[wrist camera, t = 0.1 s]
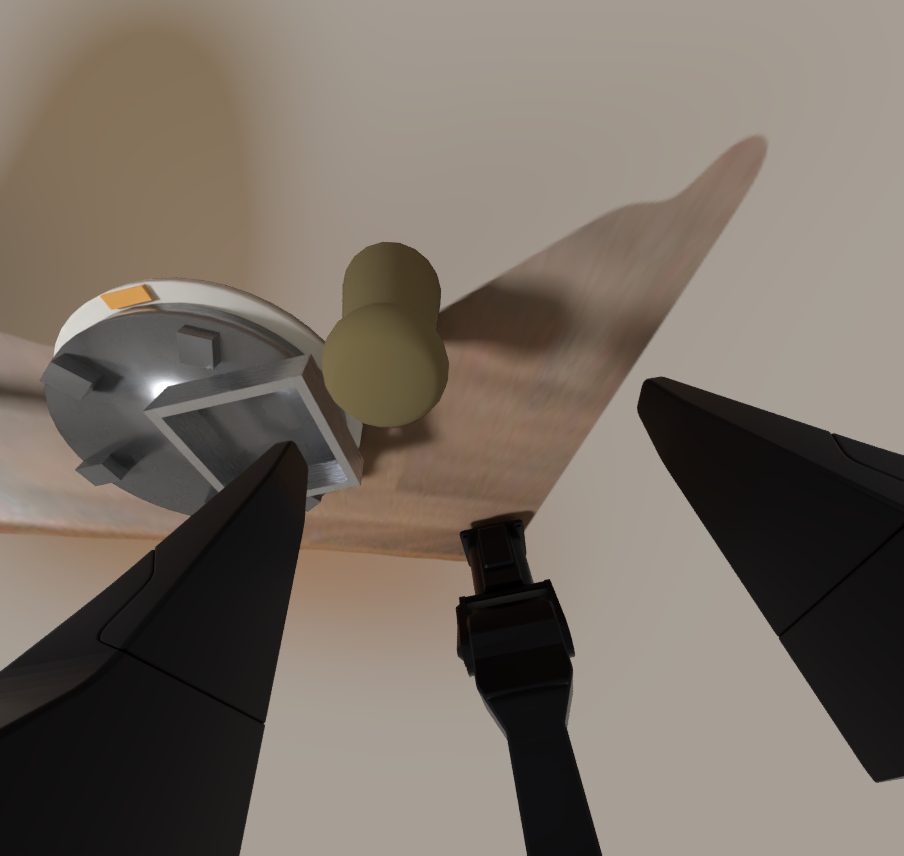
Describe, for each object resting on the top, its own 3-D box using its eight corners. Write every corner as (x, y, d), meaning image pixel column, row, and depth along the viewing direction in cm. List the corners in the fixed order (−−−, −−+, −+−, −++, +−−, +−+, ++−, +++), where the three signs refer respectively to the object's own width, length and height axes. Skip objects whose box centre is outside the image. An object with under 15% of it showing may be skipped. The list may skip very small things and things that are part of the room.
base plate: (393, 472, 32) (393, 483, 31) (192, 515, 32) (185, 527, 31) (293, 242, 20) (287, 248, 19) (-22, 319, 21) (-44, 328, 20)
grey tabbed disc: (188, 518, 31) (160, 566, 27) (-9, 340, 20) (-95, 382, 17) (382, 477, 30) (379, 521, 27) (285, 270, 19) (259, 297, 16)
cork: (414, 222, 20) (421, 281, 11) (455, 317, 23) (485, 417, 15) (322, 270, 21) (264, 357, 12) (375, 354, 24) (359, 467, 16)
